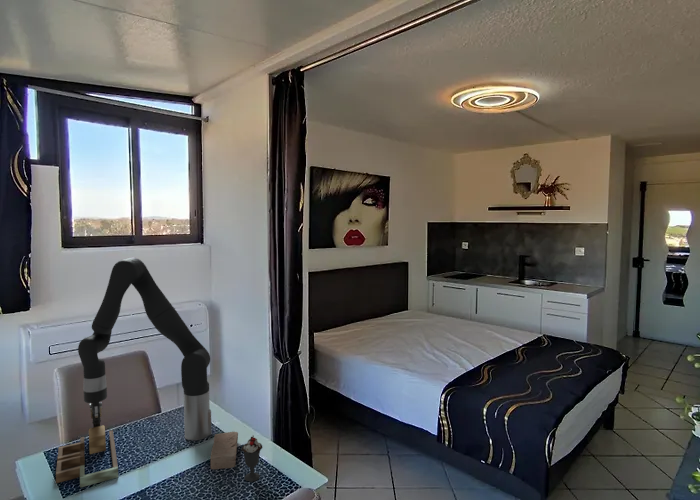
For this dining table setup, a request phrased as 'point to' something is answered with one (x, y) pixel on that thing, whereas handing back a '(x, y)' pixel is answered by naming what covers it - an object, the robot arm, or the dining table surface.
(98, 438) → the block
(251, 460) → the sundae
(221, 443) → the brick
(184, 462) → the dining table surface
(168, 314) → the robot arm
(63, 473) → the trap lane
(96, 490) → the dining table surface
